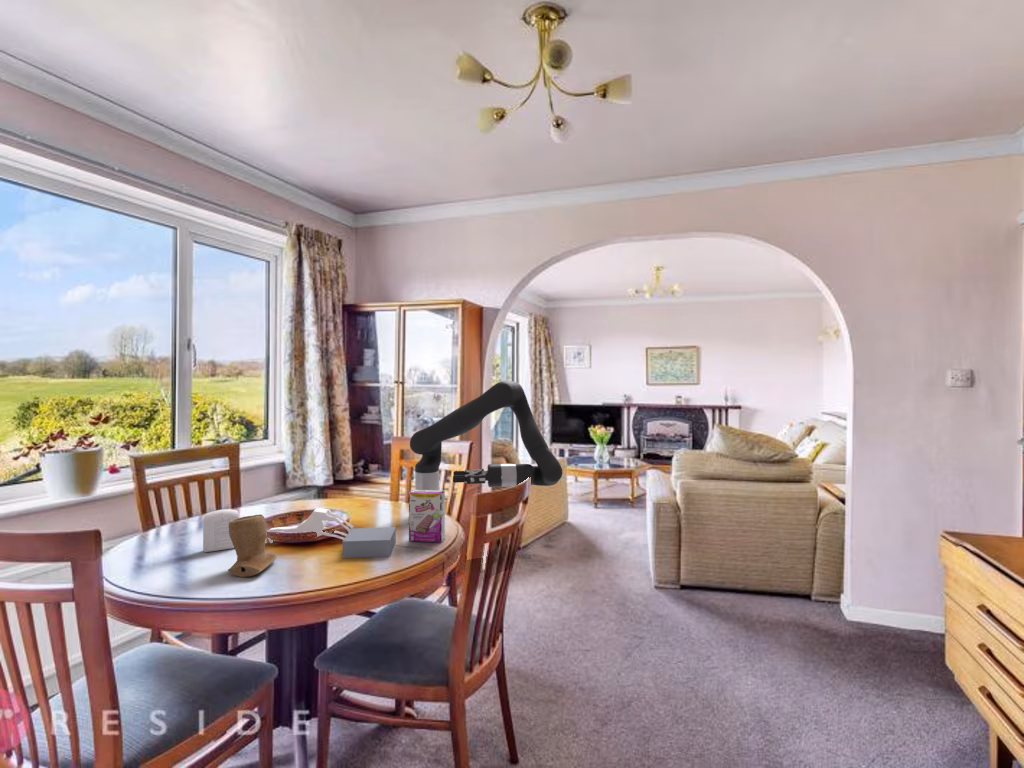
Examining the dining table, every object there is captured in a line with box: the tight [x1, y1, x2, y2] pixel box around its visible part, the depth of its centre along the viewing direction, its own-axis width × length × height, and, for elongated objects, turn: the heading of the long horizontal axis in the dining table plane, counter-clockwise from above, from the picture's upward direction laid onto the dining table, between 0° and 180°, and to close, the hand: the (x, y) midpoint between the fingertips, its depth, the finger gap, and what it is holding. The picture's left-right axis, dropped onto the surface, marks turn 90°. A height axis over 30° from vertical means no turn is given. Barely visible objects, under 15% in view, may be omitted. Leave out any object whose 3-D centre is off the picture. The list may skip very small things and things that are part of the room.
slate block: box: [341, 526, 397, 559], centre depth 170 cm, size 14×14×5 cm
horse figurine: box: [267, 507, 355, 544], centre depth 179 cm, size 5×16×25 cm
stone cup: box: [227, 514, 277, 578], centre depth 154 cm, size 15×12×15 cm
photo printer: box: [202, 508, 241, 553], centre depth 172 cm, size 10×4×12 cm, turn 123°
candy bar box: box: [408, 489, 446, 543], centre depth 180 cm, size 11×5×16 cm, turn 84°
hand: (453, 476), depth 180 cm, fingers open, 8 cm apart
